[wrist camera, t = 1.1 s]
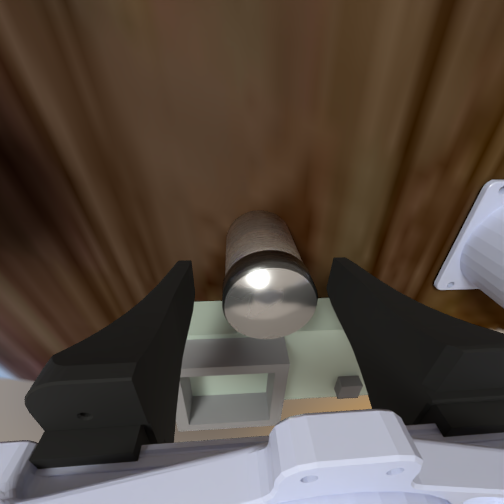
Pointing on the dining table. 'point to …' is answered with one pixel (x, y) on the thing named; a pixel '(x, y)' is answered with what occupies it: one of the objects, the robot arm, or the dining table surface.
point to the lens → (265, 278)
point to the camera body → (260, 369)
